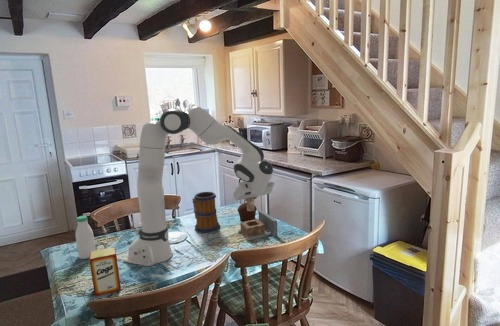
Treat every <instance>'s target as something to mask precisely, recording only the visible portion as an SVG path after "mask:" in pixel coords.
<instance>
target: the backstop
mask: <svg viewBox="0 0 500 326" xmlns="http://www.w3.org/2000/svg"><path fill="white" fill-rule="evenodd" d="M257 212H258V220H259V221H261V222H262V223H263V224H265V233H264V234H260V235H256V236H251V237H247V238H246V237H245V241H252V240H255V239H260V238H264V237H269V236H272V237H273V238H277V237H278V220H277V219H275V218H274V217H273V216H271V215H269V214H268V213H267V212H265V211H264V210H263V209H260V210H258V211H257ZM237 232H238V234H241V229H238V231H237Z"/></svg>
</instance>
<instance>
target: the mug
mask: <svg viewBox="0 0 500 326" xmlns="http://www.w3.org/2000/svg"><path fill="white" fill-rule="evenodd" d="M216 198H217V195H216V193H215V192H213V191H202V192H198V193H195V195H194V198H193V197H192V204H193V212H194V218H195V220H196V224H195V225H194V231H195V232H196V233H198V234H202V235H203V234H204V235H205V234H211V233H215V232H217V231H219V230H220V228H221V225H220V223H219V221H218V215H217V208H216Z"/></svg>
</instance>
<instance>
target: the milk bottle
mask: <svg viewBox="0 0 500 326" xmlns="http://www.w3.org/2000/svg"><path fill="white" fill-rule="evenodd" d="M76 222H77V227H76V230H75V241H76V242H75V243H76V247H77V249H76V250H77V254H78V258H79V259H80V260H87V259H88V260H89V254H90V252H93V251H97V250H96V243H95V237H94V236H95V235H94V232H93V229H92V228H91V226H90V224H89V223H88V216H87V215H80V216H78V217H76Z"/></svg>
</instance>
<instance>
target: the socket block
mask: <svg viewBox="0 0 500 326" xmlns="http://www.w3.org/2000/svg"><path fill="white" fill-rule="evenodd" d="M240 230H241V233H240V234H241V235H242V236H244V238H245V239H246V238H247V237H251V236H256V235H260V234H264V233H266V231H265V224H263V223H262V222H261V221H259V218H255V220H250V221H246V222H243V221H240Z"/></svg>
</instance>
